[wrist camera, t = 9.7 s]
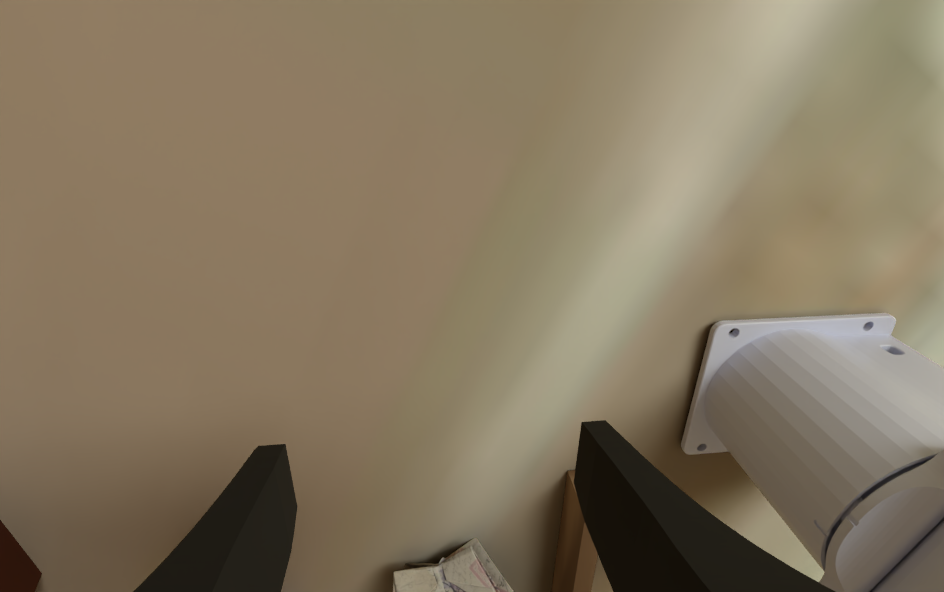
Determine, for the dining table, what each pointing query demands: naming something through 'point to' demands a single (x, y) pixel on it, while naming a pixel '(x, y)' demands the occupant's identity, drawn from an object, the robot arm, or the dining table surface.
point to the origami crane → (453, 573)
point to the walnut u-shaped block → (573, 546)
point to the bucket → (15, 565)
